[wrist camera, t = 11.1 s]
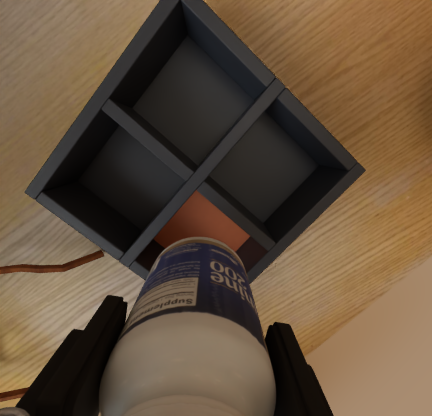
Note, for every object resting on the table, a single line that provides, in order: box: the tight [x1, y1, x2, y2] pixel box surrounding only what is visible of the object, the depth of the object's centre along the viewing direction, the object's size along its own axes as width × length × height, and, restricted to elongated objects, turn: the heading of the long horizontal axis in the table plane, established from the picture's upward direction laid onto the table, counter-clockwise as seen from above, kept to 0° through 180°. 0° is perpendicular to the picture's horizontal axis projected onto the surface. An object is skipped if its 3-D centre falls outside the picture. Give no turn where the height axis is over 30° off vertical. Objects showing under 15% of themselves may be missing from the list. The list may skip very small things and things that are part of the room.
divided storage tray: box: [25, 0, 366, 284], centre depth 18 cm, size 15×15×5 cm
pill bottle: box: [99, 237, 276, 416], centre depth 10 cm, size 5×5×10 cm
